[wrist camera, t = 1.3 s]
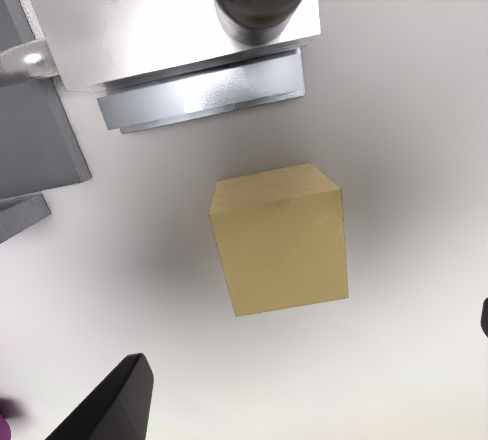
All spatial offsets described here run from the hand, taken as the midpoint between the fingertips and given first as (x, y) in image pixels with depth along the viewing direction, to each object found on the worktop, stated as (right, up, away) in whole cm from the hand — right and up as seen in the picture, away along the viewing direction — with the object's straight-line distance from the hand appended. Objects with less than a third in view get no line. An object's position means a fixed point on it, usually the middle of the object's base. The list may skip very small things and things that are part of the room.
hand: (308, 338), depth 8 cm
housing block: (0, +3, +9) cm, 9 cm away
